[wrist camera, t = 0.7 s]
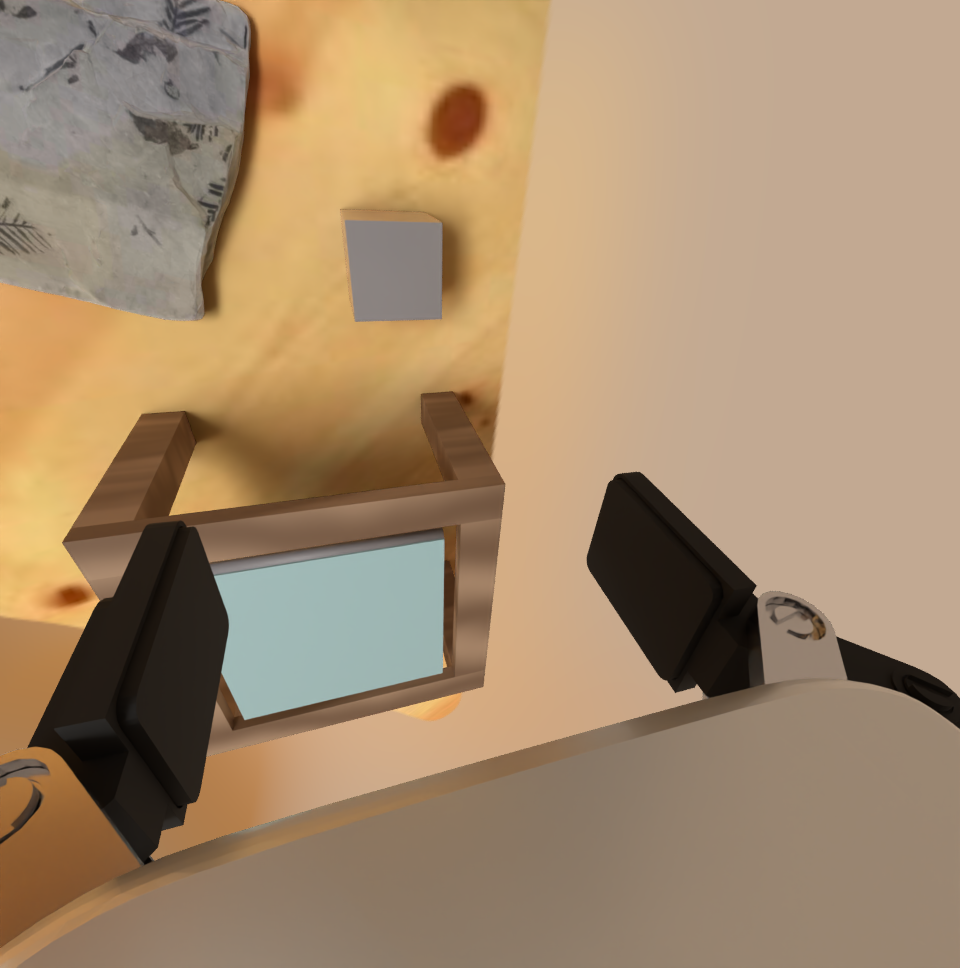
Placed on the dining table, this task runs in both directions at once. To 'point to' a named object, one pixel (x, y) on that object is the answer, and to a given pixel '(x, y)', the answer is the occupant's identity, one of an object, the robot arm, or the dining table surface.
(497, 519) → the trapdoor frame
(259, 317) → the dining table surface
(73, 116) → the fossil rock
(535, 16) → the dining table surface
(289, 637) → the trapdoor
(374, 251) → the gray cube
